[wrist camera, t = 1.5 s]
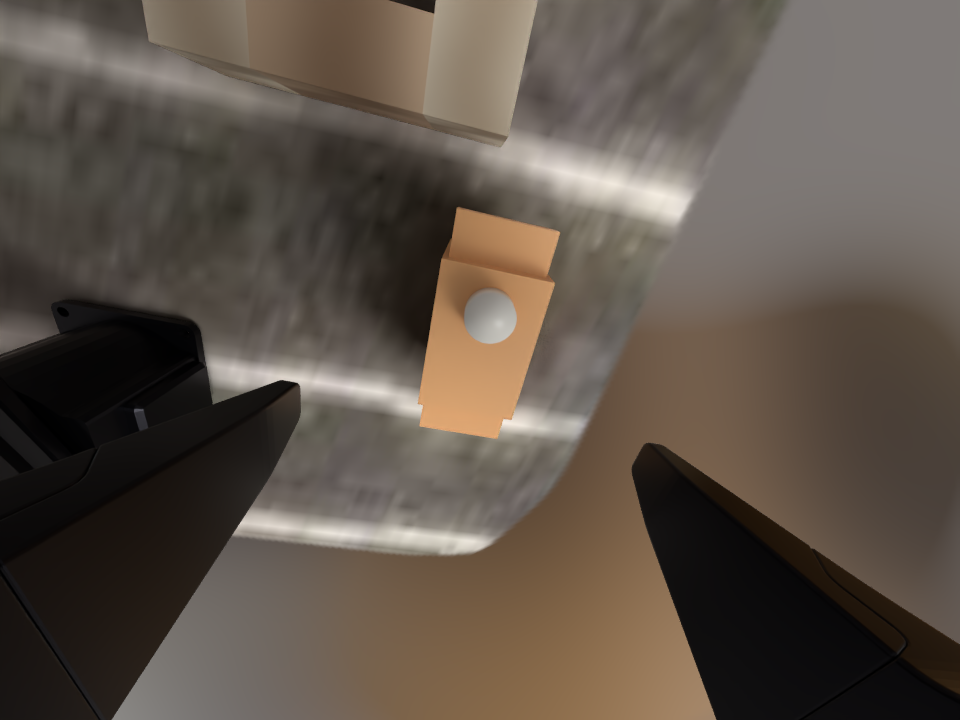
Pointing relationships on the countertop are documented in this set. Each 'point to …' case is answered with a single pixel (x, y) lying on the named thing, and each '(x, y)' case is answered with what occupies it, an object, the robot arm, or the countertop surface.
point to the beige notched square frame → (365, 54)
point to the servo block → (485, 322)
